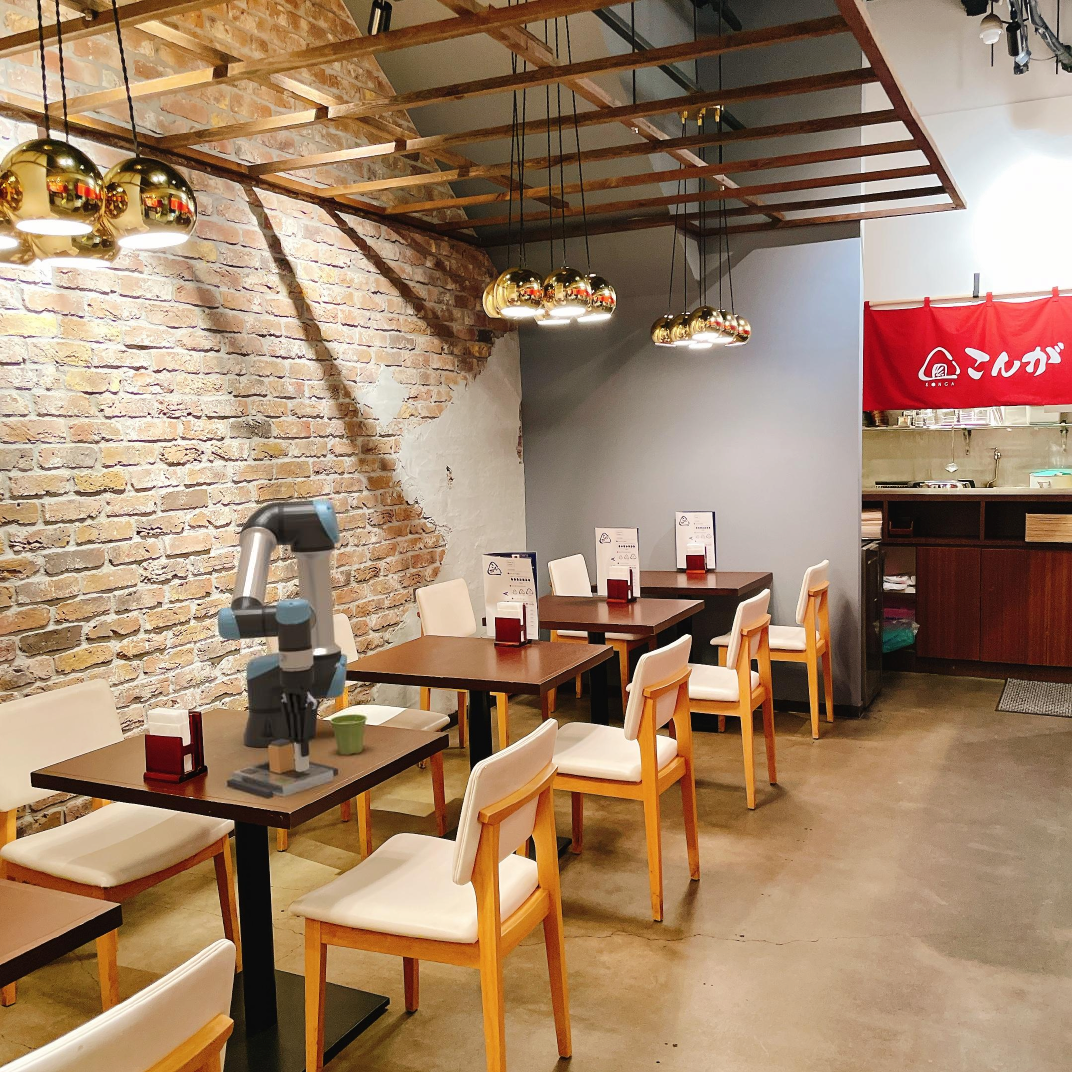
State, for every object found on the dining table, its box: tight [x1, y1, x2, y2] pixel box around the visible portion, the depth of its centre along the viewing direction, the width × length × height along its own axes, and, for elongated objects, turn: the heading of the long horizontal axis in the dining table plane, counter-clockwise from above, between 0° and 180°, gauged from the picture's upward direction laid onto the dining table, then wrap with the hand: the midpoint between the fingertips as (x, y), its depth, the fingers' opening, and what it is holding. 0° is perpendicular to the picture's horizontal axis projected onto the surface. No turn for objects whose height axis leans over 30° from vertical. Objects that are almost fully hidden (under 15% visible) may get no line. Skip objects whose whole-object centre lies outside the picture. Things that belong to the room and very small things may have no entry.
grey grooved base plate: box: [226, 758, 339, 799], centre depth 235 cm, size 17×20×1 cm
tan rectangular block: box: [267, 739, 295, 773], centre depth 234 cm, size 4×4×7 cm
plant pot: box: [329, 713, 368, 756], centre depth 257 cm, size 9×9×9 cm
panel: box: [231, 760, 335, 798], centre depth 235 cm, size 20×14×3 cm
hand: (302, 769), depth 229 cm, fingers closed
